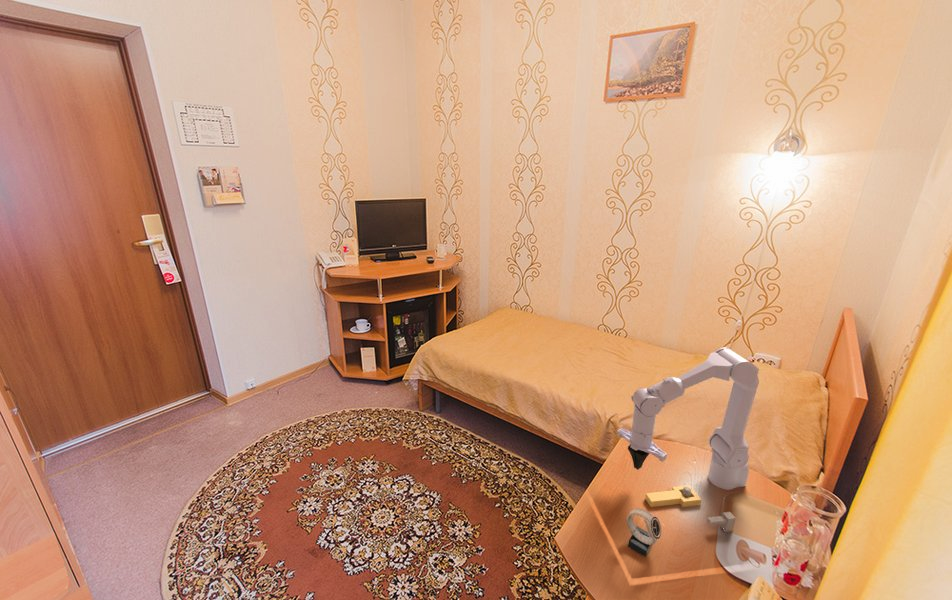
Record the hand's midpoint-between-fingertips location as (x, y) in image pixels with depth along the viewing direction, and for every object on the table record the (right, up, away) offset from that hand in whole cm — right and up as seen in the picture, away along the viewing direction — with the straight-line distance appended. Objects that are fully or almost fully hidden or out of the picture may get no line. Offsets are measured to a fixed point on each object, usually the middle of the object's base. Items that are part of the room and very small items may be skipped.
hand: (637, 467), depth 115 cm
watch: (-6, -14, -16) cm, 22 cm away
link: (+8, -8, -4) cm, 12 cm away
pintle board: (+10, -10, -7) cm, 16 cm away
